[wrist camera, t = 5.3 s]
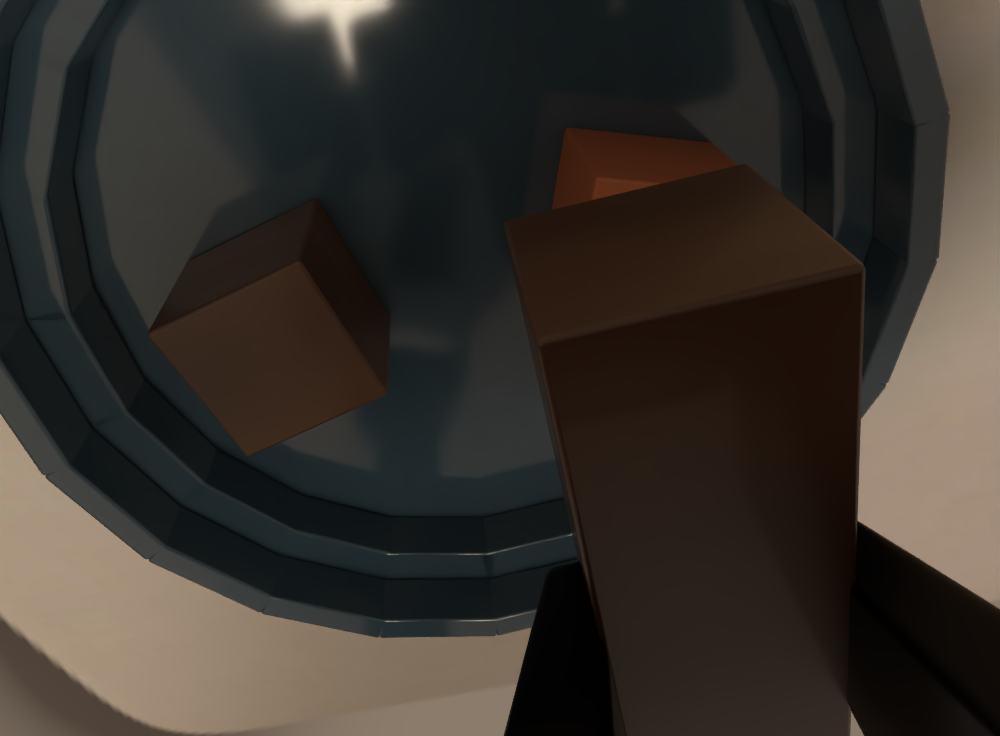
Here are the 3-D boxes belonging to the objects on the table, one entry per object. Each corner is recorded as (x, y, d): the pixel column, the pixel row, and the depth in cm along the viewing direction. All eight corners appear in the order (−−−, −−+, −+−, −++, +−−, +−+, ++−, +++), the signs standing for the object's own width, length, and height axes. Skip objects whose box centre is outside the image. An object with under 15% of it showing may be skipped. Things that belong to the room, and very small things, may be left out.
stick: (773, 682, 12) (848, 850, 10) (613, 717, 12) (655, 891, 10) (746, 160, 8) (869, 263, 6) (502, 219, 8) (535, 342, 6)
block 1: (392, 317, 17) (389, 395, 15) (270, 373, 18) (246, 459, 15) (316, 195, 16) (299, 259, 13) (185, 261, 16) (144, 335, 14)
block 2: (677, 280, 17) (723, 350, 15) (540, 269, 17) (563, 340, 14) (714, 141, 16) (772, 193, 13) (564, 126, 15) (596, 177, 13)
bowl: (852, 454, 21) (917, 539, 19) (226, 602, 22) (200, 705, 19) (868, -416, 12) (999, -497, 10) (-208, -124, 13) (-371, -121, 10)
